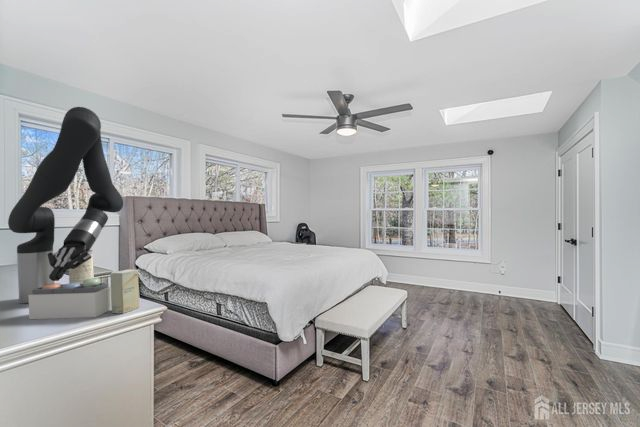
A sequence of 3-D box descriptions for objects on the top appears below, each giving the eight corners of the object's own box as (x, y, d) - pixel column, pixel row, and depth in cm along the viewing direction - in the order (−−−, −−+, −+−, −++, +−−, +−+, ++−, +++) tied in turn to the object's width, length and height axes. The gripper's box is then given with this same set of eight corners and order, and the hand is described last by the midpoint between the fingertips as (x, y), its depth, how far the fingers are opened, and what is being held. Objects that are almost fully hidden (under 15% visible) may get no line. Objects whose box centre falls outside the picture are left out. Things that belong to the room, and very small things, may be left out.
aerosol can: (98, 294, 108) (97, 241, 108) (85, 300, 102) (83, 243, 101) (79, 295, 108) (77, 241, 108) (64, 301, 101) (62, 244, 101)
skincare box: (123, 314, 86) (121, 273, 86) (110, 313, 87) (109, 273, 87) (140, 307, 93) (138, 269, 92) (128, 306, 93) (127, 268, 93)
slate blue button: (59, 292, 86) (58, 286, 86) (70, 289, 90) (70, 282, 90) (72, 292, 86) (72, 285, 86) (83, 288, 90) (83, 282, 90)
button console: (29, 319, 84) (28, 290, 84) (51, 310, 91) (50, 284, 91) (95, 317, 84) (94, 288, 84) (112, 308, 91) (111, 282, 91)
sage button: (79, 288, 86) (79, 281, 86) (90, 284, 90) (89, 278, 90) (93, 287, 86) (93, 281, 86) (103, 284, 90) (102, 277, 90)
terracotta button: (38, 293, 86) (38, 286, 86) (51, 289, 90) (50, 283, 90) (52, 293, 86) (52, 286, 86) (64, 289, 90) (63, 282, 90)
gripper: (57, 228, 97) (22, 273, 85) (97, 227, 98) (68, 272, 86) (70, 242, 103) (39, 286, 91) (109, 241, 103) (83, 285, 91)
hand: (53, 279), depth 88 cm, fingers closed
